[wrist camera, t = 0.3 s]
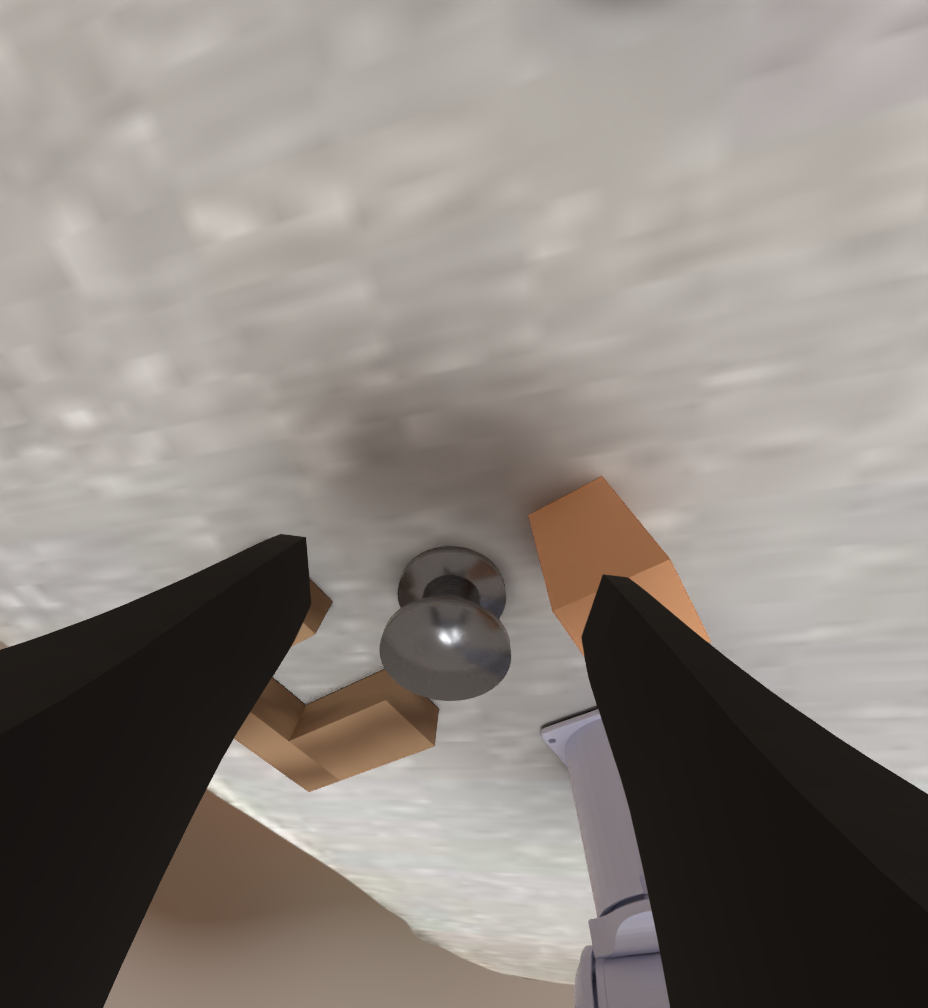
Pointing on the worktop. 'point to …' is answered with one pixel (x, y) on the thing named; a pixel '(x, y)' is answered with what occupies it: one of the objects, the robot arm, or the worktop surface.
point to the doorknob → (448, 626)
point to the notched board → (337, 723)
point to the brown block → (601, 556)
